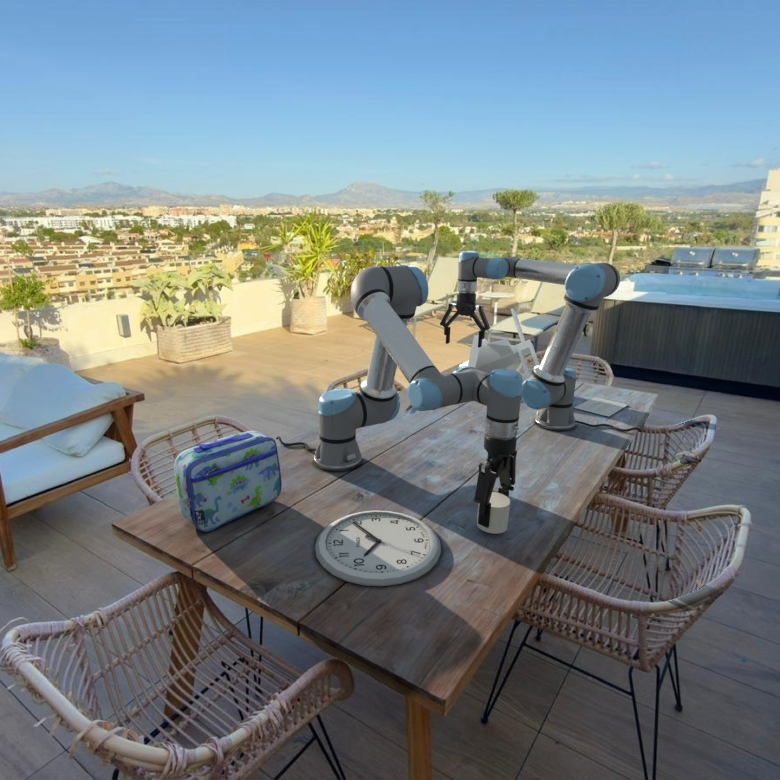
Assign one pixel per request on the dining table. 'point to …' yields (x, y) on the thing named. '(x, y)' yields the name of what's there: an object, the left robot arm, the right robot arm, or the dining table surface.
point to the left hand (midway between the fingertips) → (492, 518)
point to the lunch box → (227, 478)
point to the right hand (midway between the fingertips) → (463, 345)
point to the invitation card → (601, 406)
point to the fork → (409, 407)
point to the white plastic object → (501, 353)
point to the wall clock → (378, 548)
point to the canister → (497, 514)
